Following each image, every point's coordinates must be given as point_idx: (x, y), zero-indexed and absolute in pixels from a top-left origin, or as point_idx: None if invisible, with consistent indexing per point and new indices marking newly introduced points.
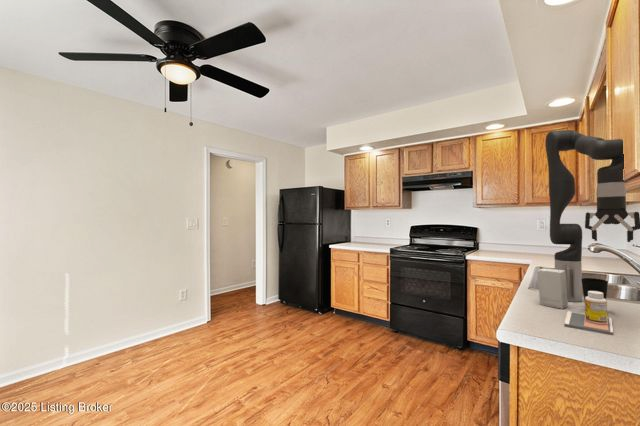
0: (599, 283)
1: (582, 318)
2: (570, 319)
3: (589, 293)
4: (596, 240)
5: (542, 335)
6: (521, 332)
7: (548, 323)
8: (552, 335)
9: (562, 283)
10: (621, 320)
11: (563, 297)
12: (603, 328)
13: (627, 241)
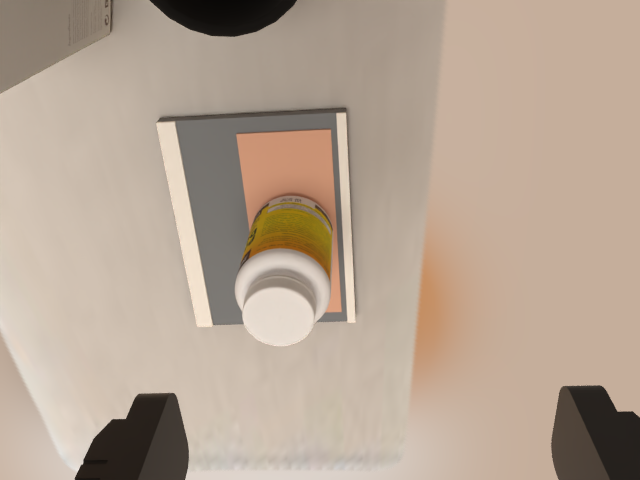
0: (266, 22)
1: (237, 201)
2: (201, 251)
3: (253, 331)
4: (183, 462)
5: None
6: None
7: (145, 321)
8: (196, 428)
9: (30, 47)
10: (387, 58)
11: (82, 22)
12: None
13: (556, 424)
